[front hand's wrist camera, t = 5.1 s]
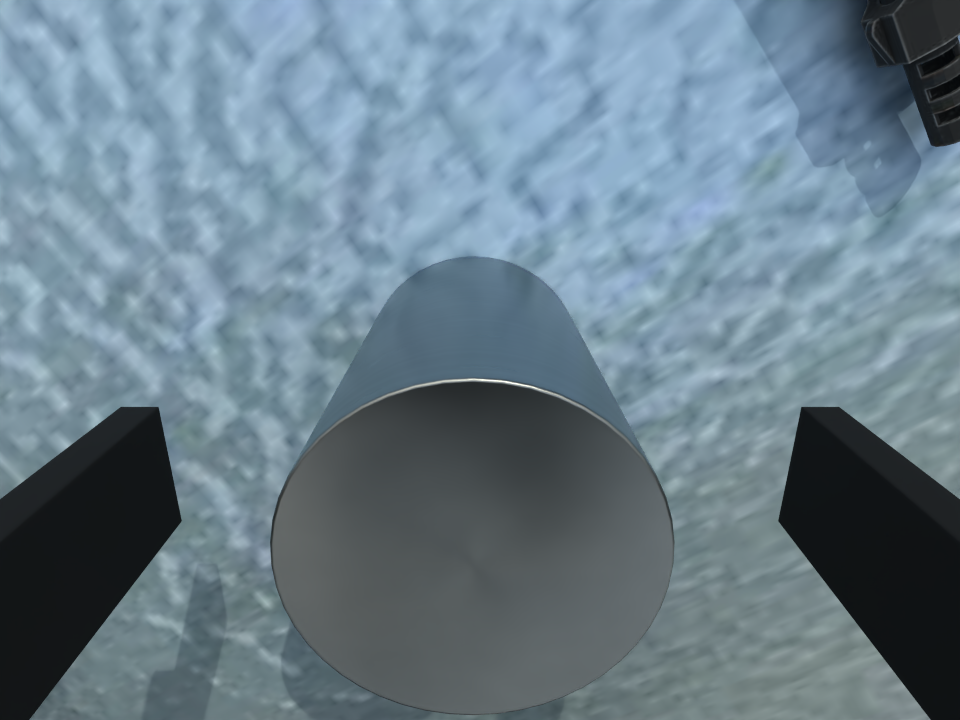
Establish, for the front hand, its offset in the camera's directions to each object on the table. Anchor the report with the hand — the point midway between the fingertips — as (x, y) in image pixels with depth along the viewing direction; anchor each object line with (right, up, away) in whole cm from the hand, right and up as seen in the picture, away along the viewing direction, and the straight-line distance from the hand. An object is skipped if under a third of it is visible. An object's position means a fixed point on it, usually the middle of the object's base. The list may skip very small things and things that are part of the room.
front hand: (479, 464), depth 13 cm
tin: (0, +2, +7) cm, 7 cm away
